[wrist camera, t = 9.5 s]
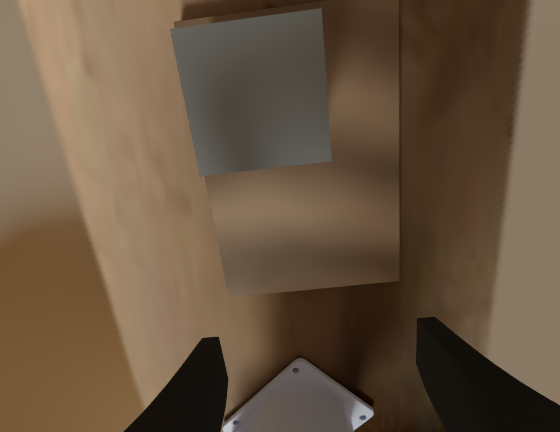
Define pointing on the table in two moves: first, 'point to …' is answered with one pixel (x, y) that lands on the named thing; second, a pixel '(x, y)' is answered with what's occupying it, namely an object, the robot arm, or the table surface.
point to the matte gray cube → (255, 91)
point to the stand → (324, 171)
